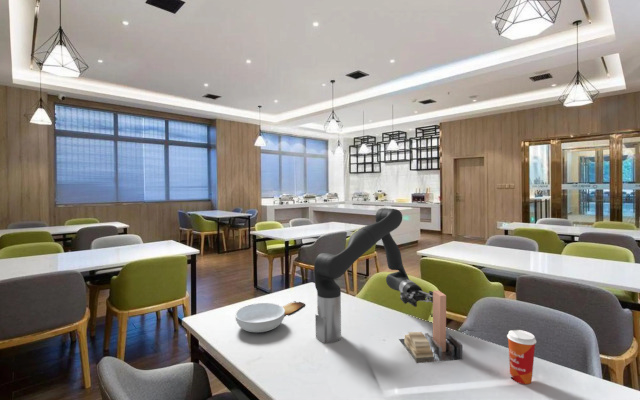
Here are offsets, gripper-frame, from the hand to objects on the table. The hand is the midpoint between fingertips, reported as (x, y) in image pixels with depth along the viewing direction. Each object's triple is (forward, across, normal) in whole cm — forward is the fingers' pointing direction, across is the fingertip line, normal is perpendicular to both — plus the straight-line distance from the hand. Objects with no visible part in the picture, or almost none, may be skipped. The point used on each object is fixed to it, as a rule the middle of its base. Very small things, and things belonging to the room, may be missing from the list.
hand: (426, 303), depth 129 cm
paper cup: (+30, +16, +14) cm, 37 cm away
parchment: (-36, -54, +14) cm, 67 cm away
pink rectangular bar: (+11, 0, +12) cm, 16 cm away
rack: (+11, -4, +13) cm, 18 cm away
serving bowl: (-19, -65, +14) cm, 69 cm away
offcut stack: (+11, -8, +12) cm, 18 cm away
